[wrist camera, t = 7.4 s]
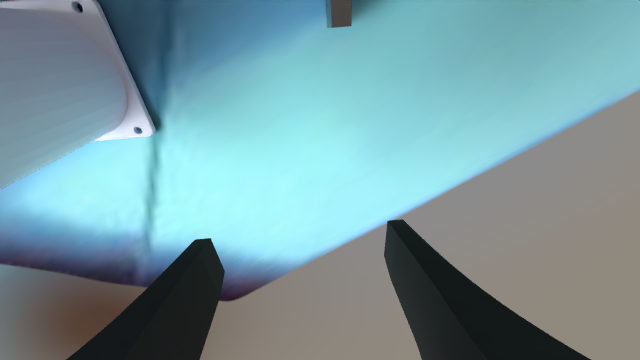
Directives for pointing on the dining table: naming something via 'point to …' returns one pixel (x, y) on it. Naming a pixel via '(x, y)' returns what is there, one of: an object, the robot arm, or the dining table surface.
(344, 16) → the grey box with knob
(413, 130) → the dining table surface
